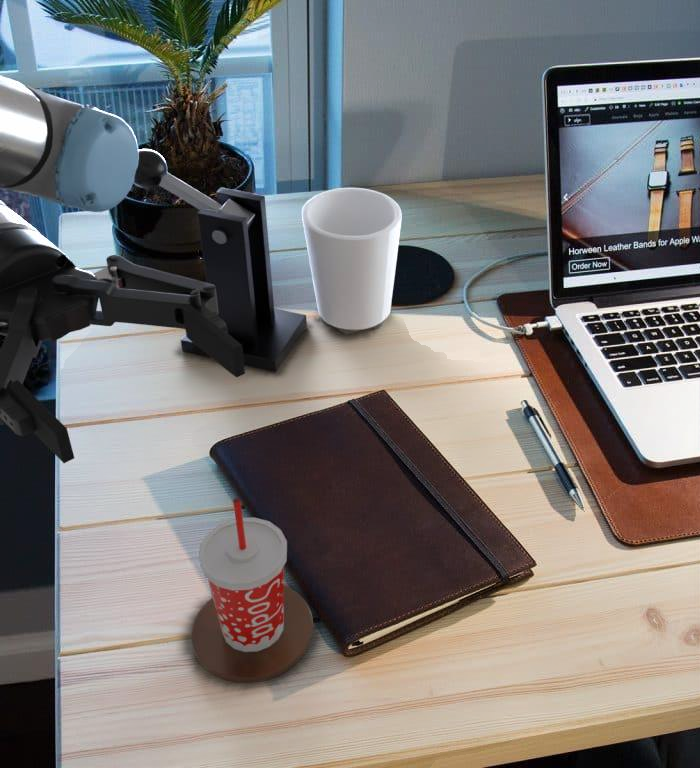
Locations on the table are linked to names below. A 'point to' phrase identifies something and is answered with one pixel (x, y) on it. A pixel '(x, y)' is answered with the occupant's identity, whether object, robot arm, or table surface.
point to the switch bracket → (245, 283)
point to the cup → (352, 255)
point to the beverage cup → (246, 579)
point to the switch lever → (179, 186)
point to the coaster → (260, 663)
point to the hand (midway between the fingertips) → (157, 401)
